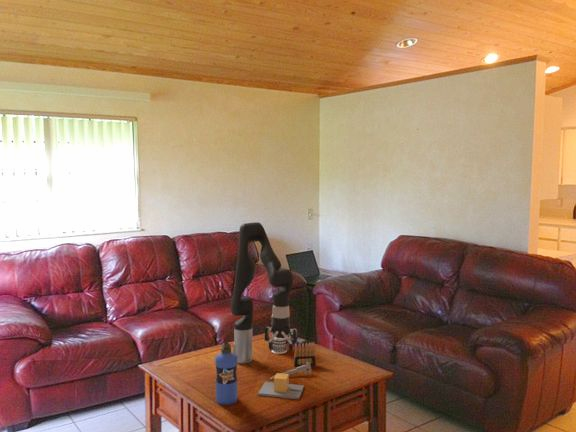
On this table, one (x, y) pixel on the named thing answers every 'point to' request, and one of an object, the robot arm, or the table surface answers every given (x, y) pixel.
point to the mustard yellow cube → (281, 382)
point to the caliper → (298, 369)
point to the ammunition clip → (304, 355)
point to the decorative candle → (279, 344)
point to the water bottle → (226, 376)
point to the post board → (291, 393)
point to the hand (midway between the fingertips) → (280, 350)
